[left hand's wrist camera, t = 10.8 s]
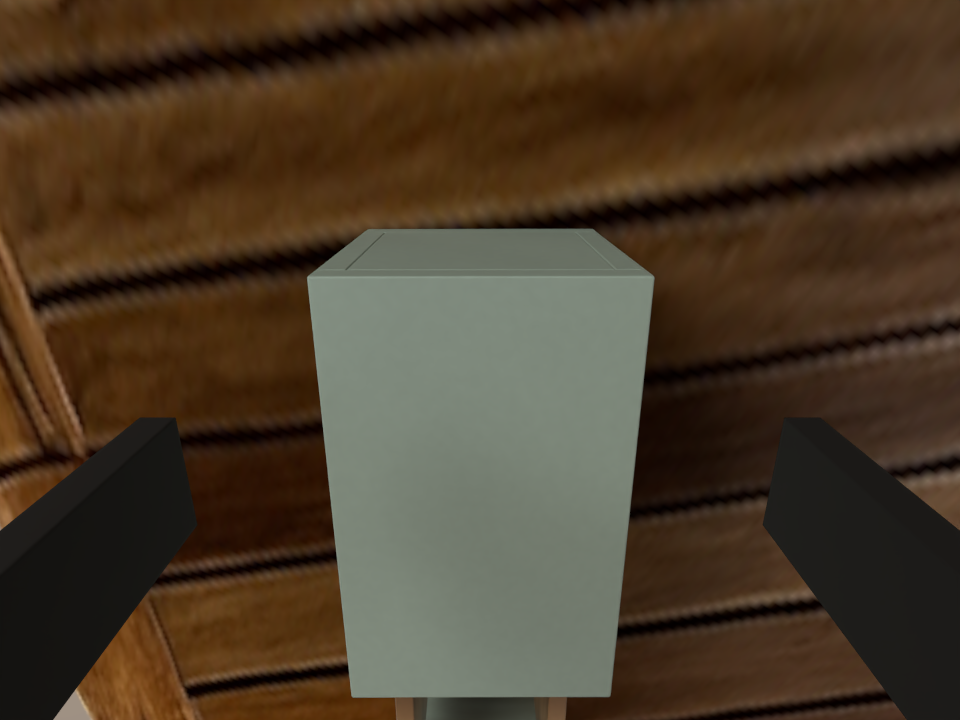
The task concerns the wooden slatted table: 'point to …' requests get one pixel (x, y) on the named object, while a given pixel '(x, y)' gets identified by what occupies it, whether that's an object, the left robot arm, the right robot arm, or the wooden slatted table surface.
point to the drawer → (480, 708)
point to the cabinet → (480, 455)
